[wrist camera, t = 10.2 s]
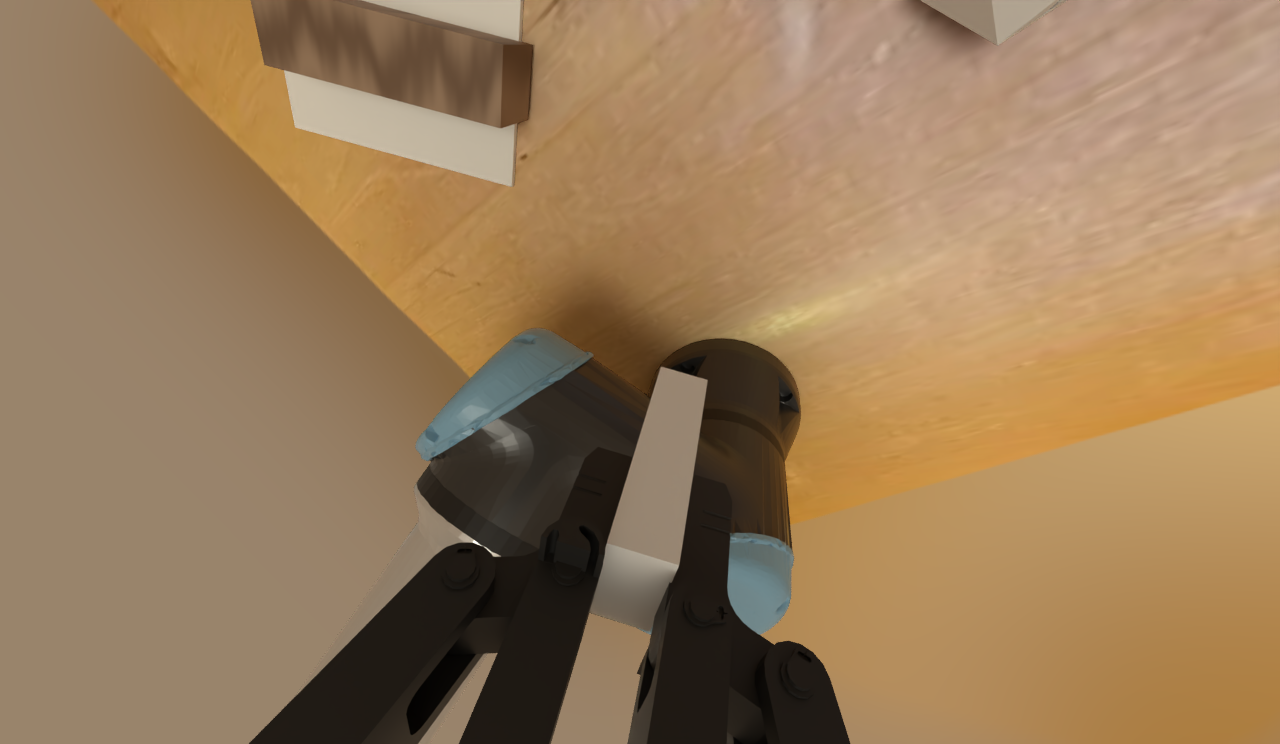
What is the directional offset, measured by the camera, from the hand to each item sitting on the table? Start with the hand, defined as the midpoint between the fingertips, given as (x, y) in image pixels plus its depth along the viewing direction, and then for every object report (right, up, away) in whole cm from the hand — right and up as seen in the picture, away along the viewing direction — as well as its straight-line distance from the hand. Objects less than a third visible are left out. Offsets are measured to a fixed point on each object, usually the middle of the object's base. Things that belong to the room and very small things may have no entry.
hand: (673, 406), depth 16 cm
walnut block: (-10, +22, +19) cm, 31 cm away
